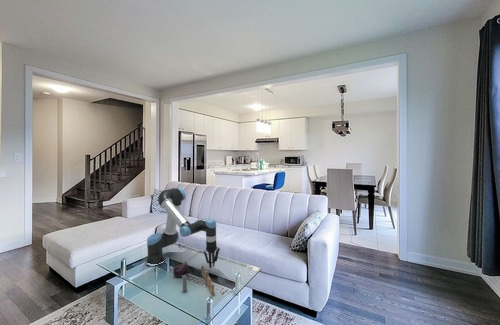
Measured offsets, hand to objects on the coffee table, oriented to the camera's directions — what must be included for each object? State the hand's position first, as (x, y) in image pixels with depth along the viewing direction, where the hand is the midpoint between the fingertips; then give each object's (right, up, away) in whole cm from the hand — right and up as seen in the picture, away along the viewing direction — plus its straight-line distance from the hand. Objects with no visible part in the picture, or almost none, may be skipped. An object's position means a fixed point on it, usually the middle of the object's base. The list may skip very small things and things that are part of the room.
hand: (211, 271), depth 170 cm
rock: (-23, -4, +2) cm, 24 cm away
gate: (-5, -4, -4) cm, 7 cm away
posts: (-9, -5, -15) cm, 17 cm away
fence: (+2, -5, -18) cm, 18 cm away
